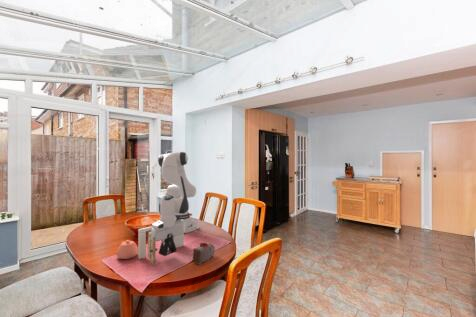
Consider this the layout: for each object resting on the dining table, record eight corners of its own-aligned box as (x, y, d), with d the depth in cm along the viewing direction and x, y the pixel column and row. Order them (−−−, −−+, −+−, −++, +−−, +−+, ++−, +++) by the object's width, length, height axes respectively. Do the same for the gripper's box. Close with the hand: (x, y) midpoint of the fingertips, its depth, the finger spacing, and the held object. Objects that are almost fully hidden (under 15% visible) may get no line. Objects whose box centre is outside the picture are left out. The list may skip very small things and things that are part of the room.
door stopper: (164, 256, 130) (164, 236, 130) (158, 253, 134) (158, 233, 133) (176, 251, 137) (177, 232, 137) (171, 248, 141) (171, 230, 140)
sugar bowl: (123, 263, 130) (123, 245, 129) (110, 257, 137) (110, 241, 137) (142, 255, 140) (142, 239, 140) (129, 250, 147) (129, 235, 147)
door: (145, 256, 137) (145, 231, 137) (152, 255, 139) (152, 230, 139) (150, 265, 126) (150, 238, 126) (157, 264, 128) (158, 236, 128)
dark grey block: (205, 253, 143) (205, 238, 143) (215, 256, 139) (215, 240, 139) (191, 262, 131) (191, 245, 131) (202, 265, 127) (202, 248, 127)
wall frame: (182, 244, 157) (182, 219, 157) (183, 245, 156) (183, 219, 155) (138, 258, 135) (138, 229, 135) (139, 259, 134) (139, 229, 134)
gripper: (180, 218, 145) (180, 239, 145) (149, 224, 130) (149, 248, 130) (185, 220, 140) (185, 241, 140) (153, 227, 126) (153, 251, 126)
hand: (167, 244), depth 135 cm, fingers closed on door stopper, 3 cm apart
